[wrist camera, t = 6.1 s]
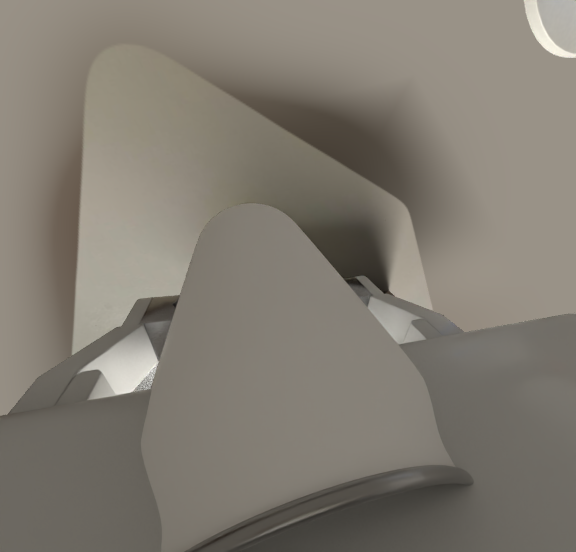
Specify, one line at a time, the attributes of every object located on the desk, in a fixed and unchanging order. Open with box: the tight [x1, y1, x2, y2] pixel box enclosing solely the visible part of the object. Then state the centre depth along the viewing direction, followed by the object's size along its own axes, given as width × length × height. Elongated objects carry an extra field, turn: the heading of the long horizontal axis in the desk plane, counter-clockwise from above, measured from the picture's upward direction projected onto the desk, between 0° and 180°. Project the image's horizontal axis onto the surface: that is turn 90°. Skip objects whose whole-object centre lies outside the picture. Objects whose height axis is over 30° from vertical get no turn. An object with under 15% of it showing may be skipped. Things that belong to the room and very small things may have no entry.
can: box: [141, 203, 474, 552], centre depth 9 cm, size 6×6×12 cm
